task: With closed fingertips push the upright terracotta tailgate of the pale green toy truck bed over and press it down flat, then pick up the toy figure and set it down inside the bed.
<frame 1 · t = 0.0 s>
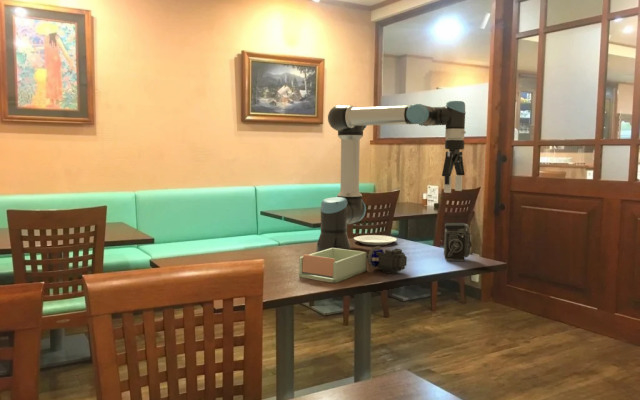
hand: (453, 191, 208), 28 cm above the table, fingers open, 13 cm apart
truck bed: (333, 273, 183), on the table
toy: (385, 272, 187), on the table
tailgate: (318, 266, 174), point 5 cm above the table, hinge at -5.0°
camera: (457, 260, 209), on the table
plate: (375, 243, 248), on the table
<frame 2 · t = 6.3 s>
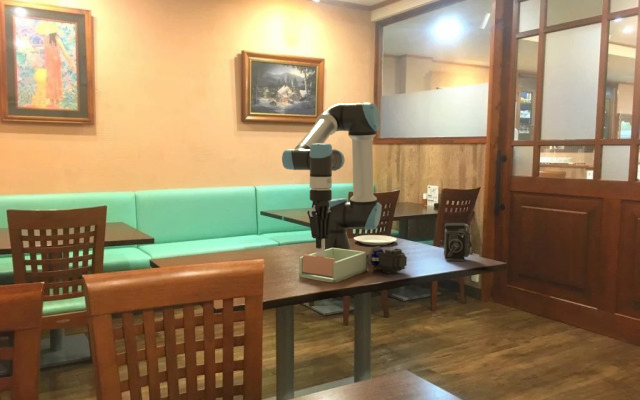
hand: (320, 257, 175), 8 cm above the table, fingers closed
tailgate: (318, 266, 174), point 5 cm above the table, hinge at -3.4°, touching gripper
everything else where it was.
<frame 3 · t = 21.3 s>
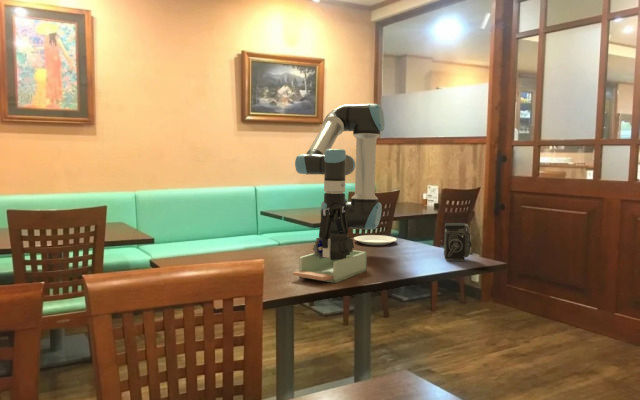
hand: (333, 254, 182), 7 cm above the table, fingers closed on toy, 9 cm apart
toy: (335, 260, 182), point 5 cm above the table, touching gripper, truck bed
tailgate: (313, 275, 172), point 2 cm above the table, hinge at 83.8°
everything else where it was.
when the fingers open (6 cm above the table, at t = 22.1 s): toy stays where it is, resting on truck bed.
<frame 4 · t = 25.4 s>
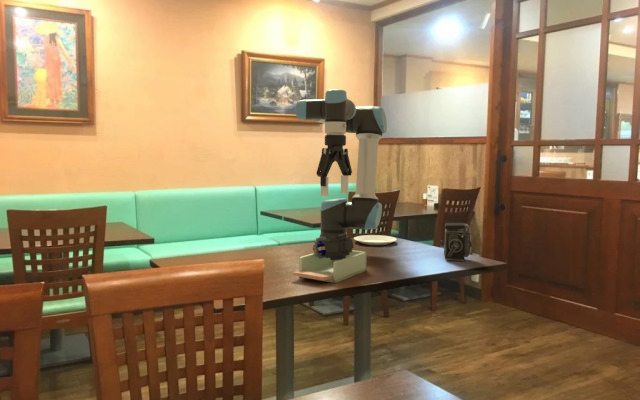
hand: (334, 194, 181), 29 cm above the table, fingers open, 13 cm apart
toy: (334, 260, 182), point 5 cm above the table, touching truck bed
everything else where it was.
at the end: tailgate at +84° (first picture: -5°); toy inside the target area on the truck bed (0.7 cm from its centre), point 5.1 cm above the truck bed's base; the gripper is holding nothing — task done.
